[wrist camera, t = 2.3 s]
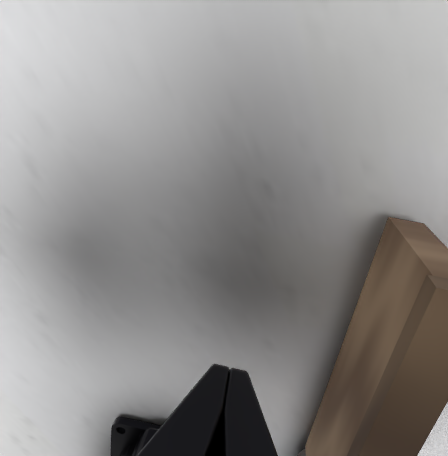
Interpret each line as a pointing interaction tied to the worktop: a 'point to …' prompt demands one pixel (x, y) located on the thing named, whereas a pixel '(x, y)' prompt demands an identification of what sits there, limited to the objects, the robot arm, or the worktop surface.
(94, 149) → the worktop surface
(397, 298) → the gate
